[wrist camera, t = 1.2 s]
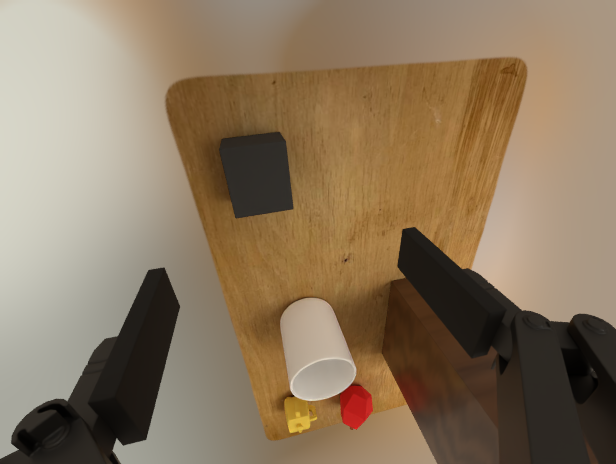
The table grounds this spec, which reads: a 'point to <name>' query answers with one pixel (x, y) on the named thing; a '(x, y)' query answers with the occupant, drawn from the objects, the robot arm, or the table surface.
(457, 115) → the table surface
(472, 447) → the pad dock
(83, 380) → the robot arm
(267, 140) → the pad
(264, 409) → the table surface
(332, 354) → the mug
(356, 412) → the apple
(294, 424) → the teapot
